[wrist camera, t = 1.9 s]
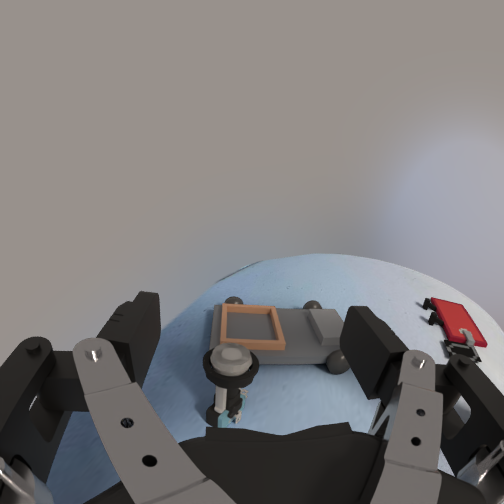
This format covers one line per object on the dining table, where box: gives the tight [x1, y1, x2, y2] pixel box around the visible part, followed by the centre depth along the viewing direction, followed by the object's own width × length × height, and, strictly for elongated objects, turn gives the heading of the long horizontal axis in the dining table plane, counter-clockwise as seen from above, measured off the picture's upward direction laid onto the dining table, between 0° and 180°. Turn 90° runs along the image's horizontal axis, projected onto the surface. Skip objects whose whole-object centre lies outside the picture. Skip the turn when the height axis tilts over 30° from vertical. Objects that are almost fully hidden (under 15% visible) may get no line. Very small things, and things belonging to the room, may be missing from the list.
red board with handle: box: [423, 297, 488, 362], centre depth 48 cm, size 30×3×15 cm
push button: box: [203, 343, 259, 428], centre depth 26 cm, size 7×5×10 cm
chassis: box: [209, 297, 350, 374], centre depth 42 cm, size 22×17×4 cm
